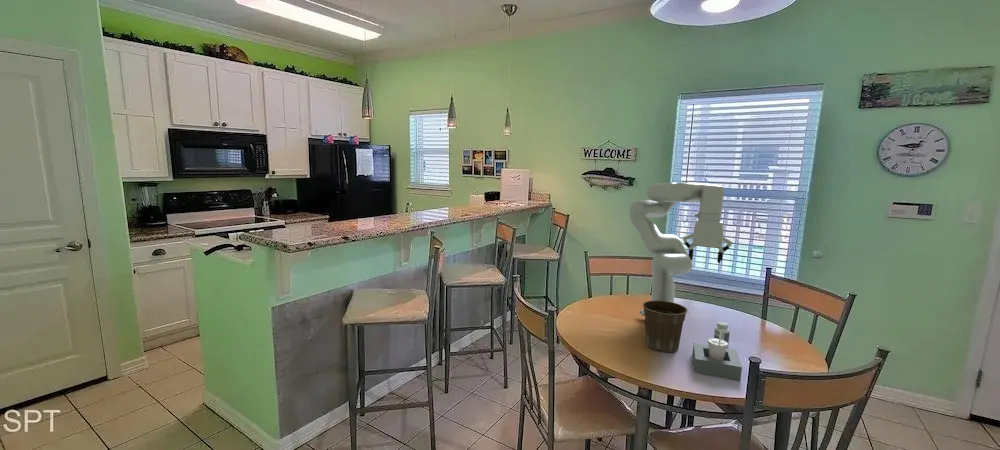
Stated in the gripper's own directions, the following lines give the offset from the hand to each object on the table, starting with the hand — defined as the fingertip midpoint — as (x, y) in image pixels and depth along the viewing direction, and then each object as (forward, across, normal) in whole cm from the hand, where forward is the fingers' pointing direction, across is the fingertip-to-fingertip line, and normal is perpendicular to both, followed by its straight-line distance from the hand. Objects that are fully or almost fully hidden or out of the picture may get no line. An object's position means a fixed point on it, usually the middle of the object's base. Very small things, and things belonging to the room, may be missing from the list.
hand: (704, 260), depth 162 cm
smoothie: (+34, +6, -20) cm, 40 cm away
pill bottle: (+34, +9, +3) cm, 36 cm away
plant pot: (+34, -13, -9) cm, 38 cm away
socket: (+34, +5, -20) cm, 40 cm away
